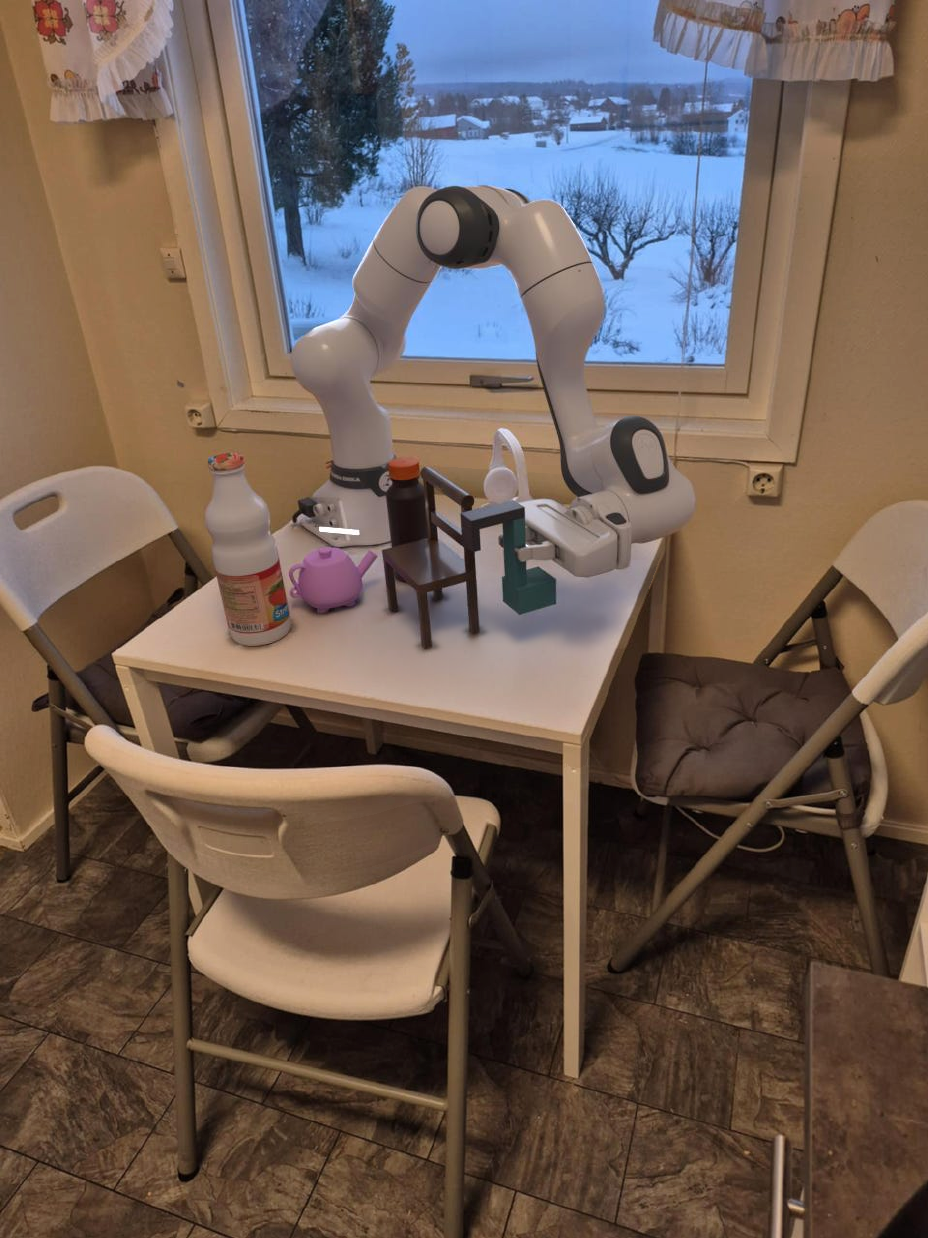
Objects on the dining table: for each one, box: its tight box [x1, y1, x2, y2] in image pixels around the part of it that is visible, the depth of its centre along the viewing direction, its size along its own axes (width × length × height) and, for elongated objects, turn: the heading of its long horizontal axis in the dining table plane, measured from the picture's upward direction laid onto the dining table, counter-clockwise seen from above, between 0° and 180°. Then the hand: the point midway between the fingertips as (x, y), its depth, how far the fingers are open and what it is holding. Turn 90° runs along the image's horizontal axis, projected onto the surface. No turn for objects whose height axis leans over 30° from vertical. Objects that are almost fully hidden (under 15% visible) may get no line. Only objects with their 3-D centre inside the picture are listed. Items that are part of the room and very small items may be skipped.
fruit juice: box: [204, 451, 292, 647], centre depth 125 cm, size 9×9×28 cm
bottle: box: [386, 456, 428, 583], centre depth 141 cm, size 7×7×20 cm
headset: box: [480, 427, 534, 508], centre depth 157 cm, size 20×7×18 cm, turn 12°
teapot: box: [288, 546, 378, 614], centre depth 137 cm, size 10×15×9 cm
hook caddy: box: [459, 500, 557, 616], centre depth 117 cm, size 12×5×16 cm, turn 117°
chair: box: [381, 466, 481, 650], centre depth 126 cm, size 9×14×22 cm
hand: (509, 548), depth 116 cm, fingers closed on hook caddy, 3 cm apart
